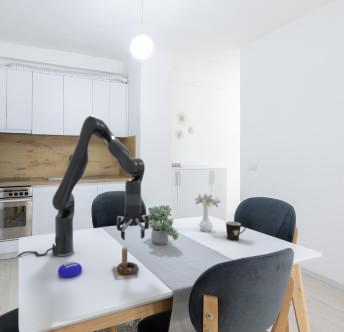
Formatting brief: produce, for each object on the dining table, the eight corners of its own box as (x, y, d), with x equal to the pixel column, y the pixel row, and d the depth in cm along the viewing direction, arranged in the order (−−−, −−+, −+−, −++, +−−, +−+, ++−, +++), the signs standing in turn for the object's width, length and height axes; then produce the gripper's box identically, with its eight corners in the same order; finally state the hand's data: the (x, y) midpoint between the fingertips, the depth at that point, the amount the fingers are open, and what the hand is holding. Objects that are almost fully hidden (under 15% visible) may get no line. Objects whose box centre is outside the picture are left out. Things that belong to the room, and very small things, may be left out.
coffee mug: (225, 240, 150) (225, 224, 150) (225, 236, 158) (225, 220, 158) (246, 243, 146) (247, 226, 145) (245, 238, 154) (245, 222, 153)
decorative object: (78, 254, 113) (84, 266, 104) (79, 265, 114) (84, 278, 105) (55, 259, 109) (59, 271, 100) (56, 270, 110) (59, 284, 101)
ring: (118, 276, 104) (118, 271, 104) (115, 266, 113) (115, 262, 113) (140, 274, 105) (140, 270, 105) (135, 264, 115) (135, 260, 115)
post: (116, 279, 104) (116, 253, 103) (113, 269, 113) (112, 245, 112) (136, 277, 106) (137, 251, 105) (131, 267, 114) (131, 244, 114)
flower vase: (222, 230, 171) (222, 194, 169) (204, 234, 161) (205, 197, 159) (206, 225, 181) (207, 192, 180) (189, 229, 171) (190, 194, 170)
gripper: (145, 200, 113) (145, 235, 114) (115, 201, 110) (115, 236, 111) (151, 204, 106) (150, 240, 107) (118, 205, 103) (118, 242, 104)
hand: (132, 238), depth 109 cm, fingers open, 8 cm apart
